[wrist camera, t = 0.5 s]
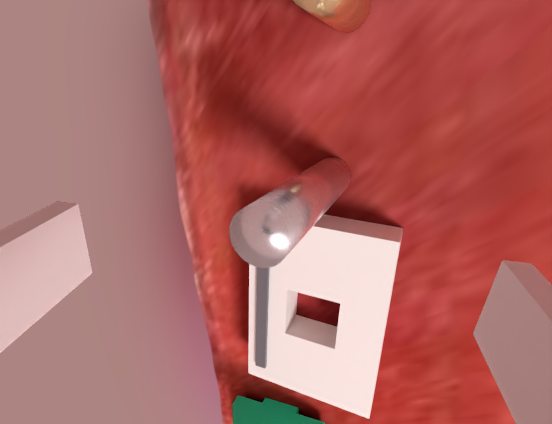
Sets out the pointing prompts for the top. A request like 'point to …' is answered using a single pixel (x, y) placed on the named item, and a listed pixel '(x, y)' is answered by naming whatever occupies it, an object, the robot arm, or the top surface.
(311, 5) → the short pin
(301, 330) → the hole plate
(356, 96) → the top surface
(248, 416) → the camera mount
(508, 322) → the robot arm
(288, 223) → the long pin
